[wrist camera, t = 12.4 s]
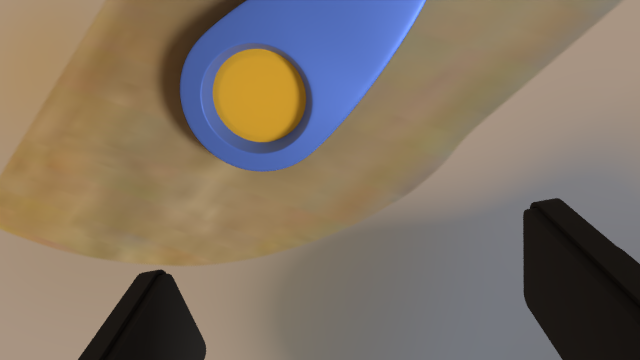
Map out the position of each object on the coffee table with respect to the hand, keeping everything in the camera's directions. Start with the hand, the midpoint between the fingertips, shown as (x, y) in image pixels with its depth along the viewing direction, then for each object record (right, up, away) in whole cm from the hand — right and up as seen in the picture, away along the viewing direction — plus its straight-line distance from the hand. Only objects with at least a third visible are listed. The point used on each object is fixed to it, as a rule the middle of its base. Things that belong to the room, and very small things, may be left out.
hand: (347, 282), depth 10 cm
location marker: (-2, +14, +23) cm, 27 cm away
